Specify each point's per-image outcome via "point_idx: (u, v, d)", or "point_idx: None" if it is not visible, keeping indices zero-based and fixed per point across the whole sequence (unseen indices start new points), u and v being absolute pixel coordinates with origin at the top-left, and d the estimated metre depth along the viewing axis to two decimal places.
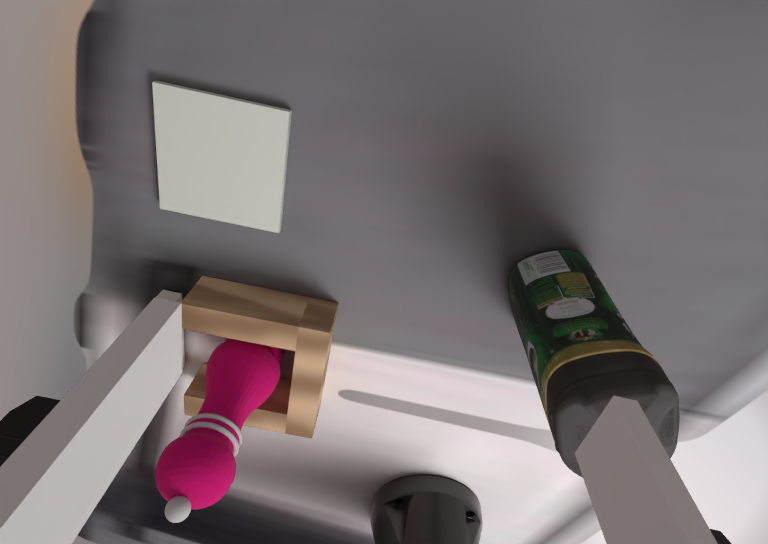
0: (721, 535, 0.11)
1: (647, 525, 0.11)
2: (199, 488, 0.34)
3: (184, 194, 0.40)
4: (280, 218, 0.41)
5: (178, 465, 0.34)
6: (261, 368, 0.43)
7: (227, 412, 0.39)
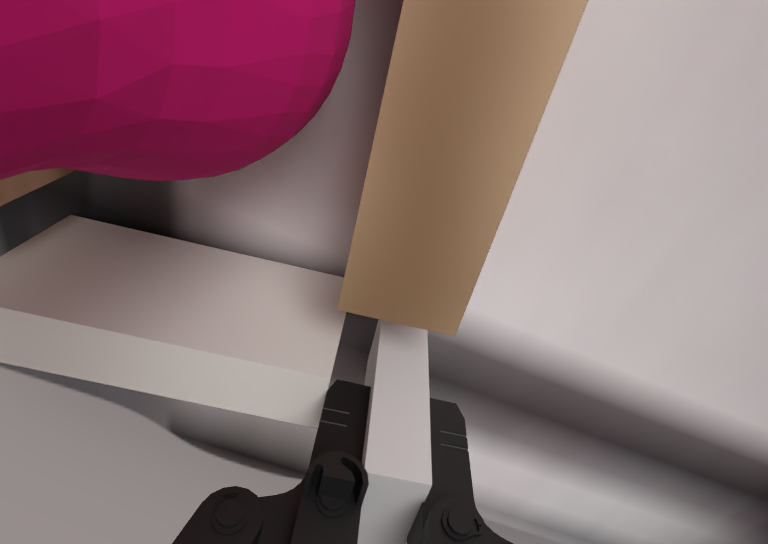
0: (456, 406, 0.13)
1: None
2: None
3: None
4: None
5: None
6: None
7: None
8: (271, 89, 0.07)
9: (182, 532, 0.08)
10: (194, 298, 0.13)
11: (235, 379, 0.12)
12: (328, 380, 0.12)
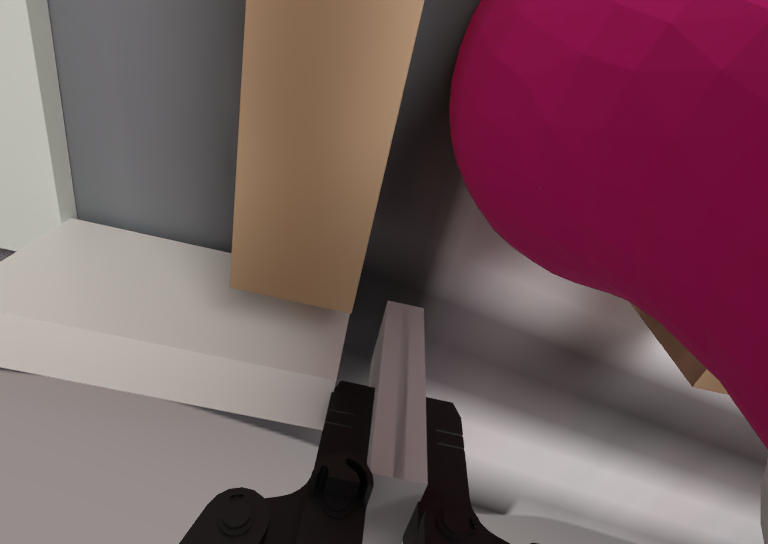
0: (453, 406, 0.13)
1: None
2: None
3: None
4: None
5: None
6: None
7: None
8: None
9: (188, 533, 0.08)
10: (198, 301, 0.13)
11: (241, 382, 0.12)
12: (334, 382, 0.12)
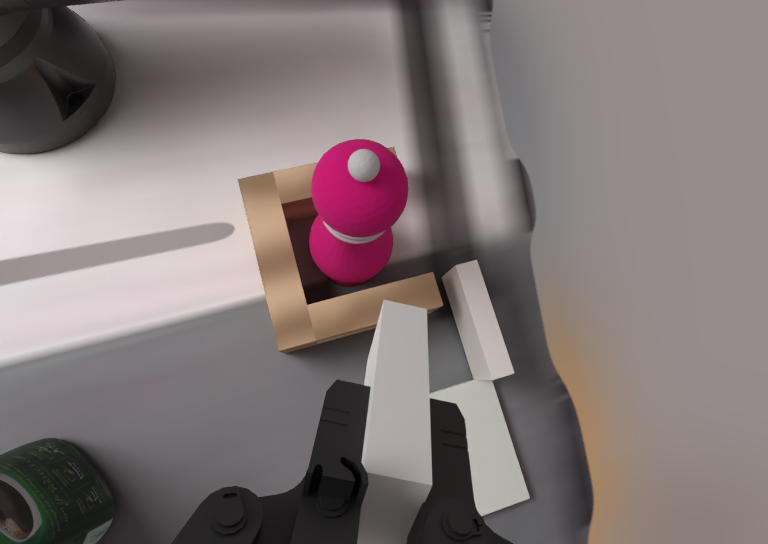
0: (456, 406, 0.13)
1: None
2: (348, 198, 0.25)
3: (473, 402, 0.41)
4: None
5: (384, 214, 0.26)
6: (334, 270, 0.37)
7: None
8: None
9: (182, 532, 0.08)
10: (464, 317, 0.40)
11: (472, 290, 0.38)
12: (456, 265, 0.39)
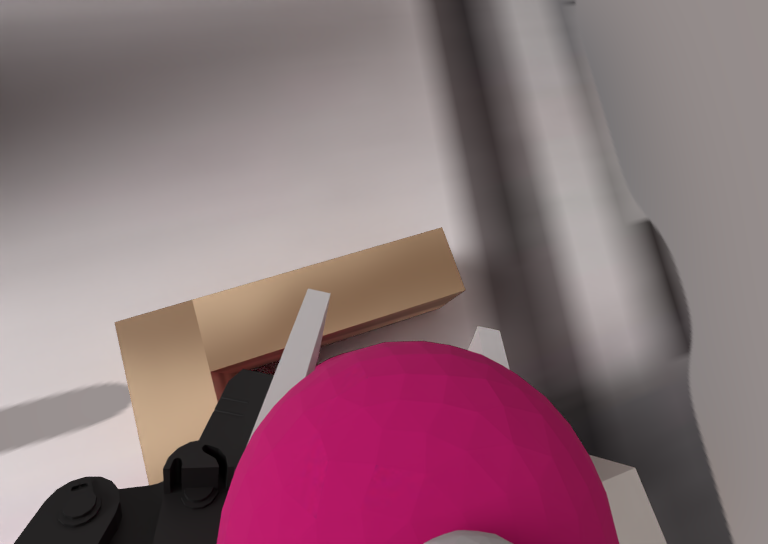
0: None
1: None
2: None
3: None
4: None
5: None
6: None
7: None
8: None
9: (22, 534, 0.07)
10: None
11: (635, 542, 0.18)
12: None
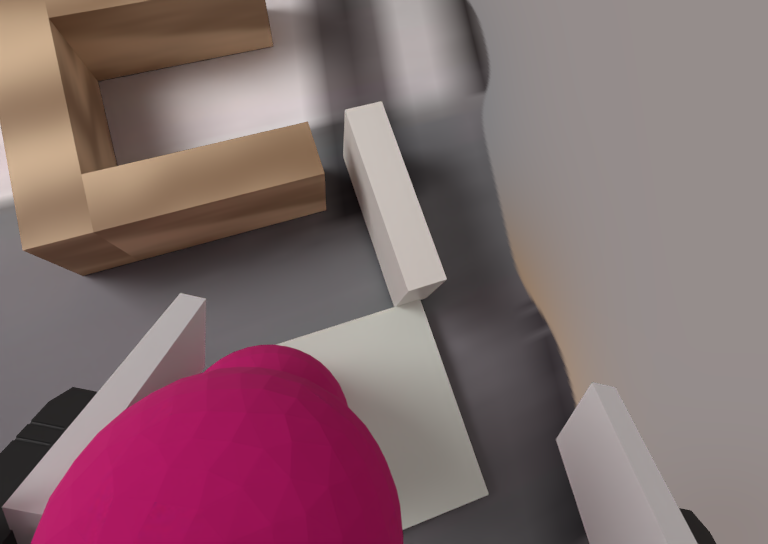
0: (692, 514, 0.11)
1: (620, 505, 0.11)
2: None
3: (393, 343, 0.25)
4: None
5: None
6: None
7: None
8: (266, 359, 0.17)
9: None
10: (368, 201, 0.24)
11: (373, 148, 0.23)
12: (346, 110, 0.23)
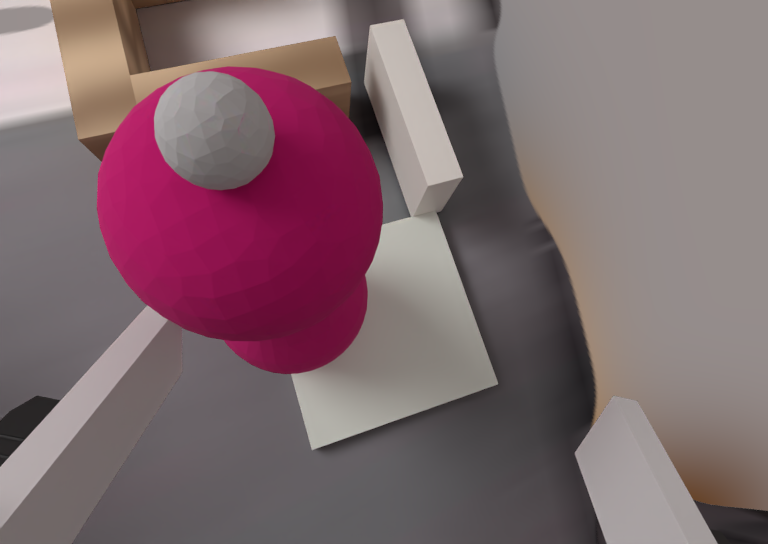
0: (721, 535, 0.11)
1: (647, 525, 0.11)
2: (180, 244, 0.08)
3: (410, 248, 0.27)
4: None
5: (310, 287, 0.09)
6: (254, 359, 0.19)
7: None
8: None
9: None
10: (389, 114, 0.26)
11: (396, 60, 0.25)
12: (371, 25, 0.25)
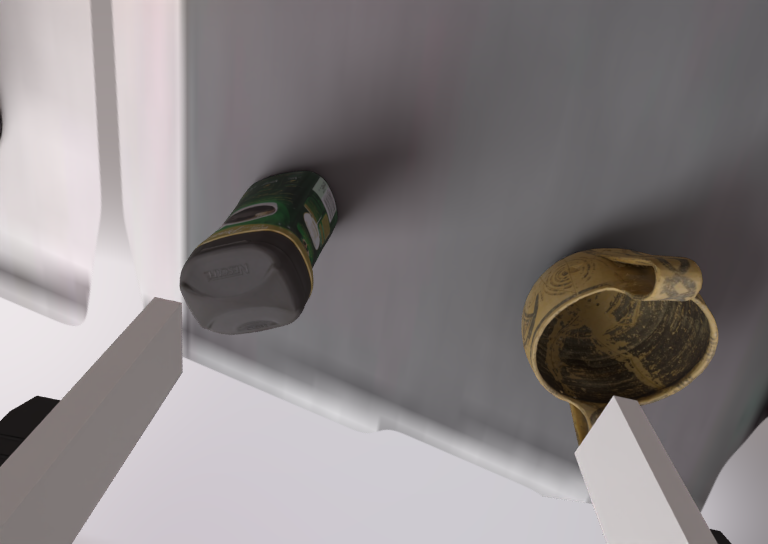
0: (721, 535, 0.11)
1: (647, 525, 0.11)
2: None
3: None
4: None
5: None
6: None
7: None
8: None
9: None
10: None
11: None
12: None
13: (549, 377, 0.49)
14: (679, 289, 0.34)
